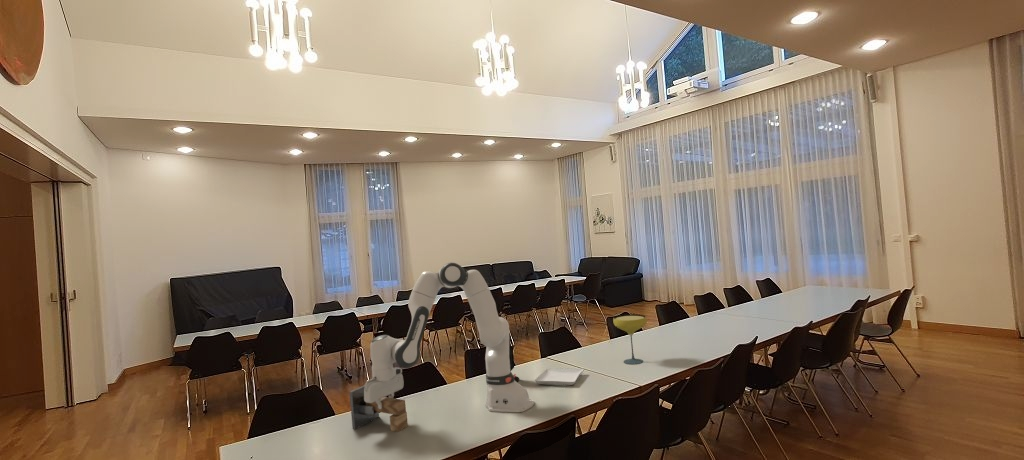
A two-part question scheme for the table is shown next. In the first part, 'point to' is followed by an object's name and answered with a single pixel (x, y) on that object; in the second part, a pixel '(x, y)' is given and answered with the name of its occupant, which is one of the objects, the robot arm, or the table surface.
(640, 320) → the cocktail glass
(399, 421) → the oak post
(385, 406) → the walnut rail
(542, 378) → the salad plate
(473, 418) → the table surface
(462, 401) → the table surface
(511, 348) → the microphone
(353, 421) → the bracket
